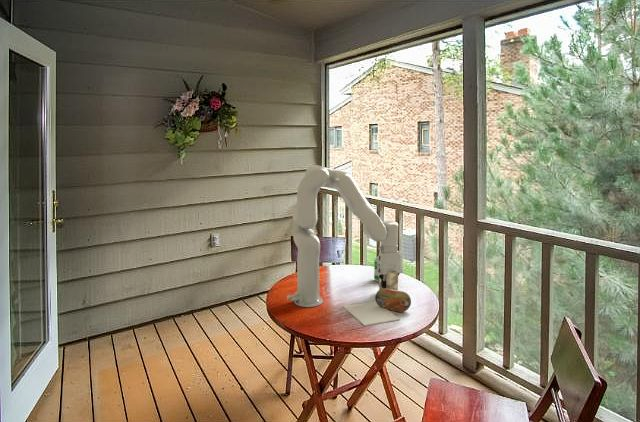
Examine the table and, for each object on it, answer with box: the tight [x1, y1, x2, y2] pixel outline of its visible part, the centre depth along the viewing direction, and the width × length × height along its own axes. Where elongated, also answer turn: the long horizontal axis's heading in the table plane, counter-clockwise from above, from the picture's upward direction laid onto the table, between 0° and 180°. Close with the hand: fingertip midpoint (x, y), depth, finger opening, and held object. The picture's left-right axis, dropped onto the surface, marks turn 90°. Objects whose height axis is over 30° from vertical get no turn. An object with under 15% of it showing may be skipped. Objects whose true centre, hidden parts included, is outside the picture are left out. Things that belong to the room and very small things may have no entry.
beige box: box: [378, 271, 399, 291], centre depth 200 cm, size 4×10×12 cm, turn 21°
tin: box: [374, 288, 412, 313], centre depth 183 cm, size 15×3×8 cm, turn 62°
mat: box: [343, 300, 401, 327], centre depth 180 cm, size 16×20×1 cm
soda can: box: [373, 255, 379, 283], centre depth 220 cm, size 8×8×12 cm
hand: (388, 287), depth 200 cm, fingers closed on beige box, 4 cm apart
